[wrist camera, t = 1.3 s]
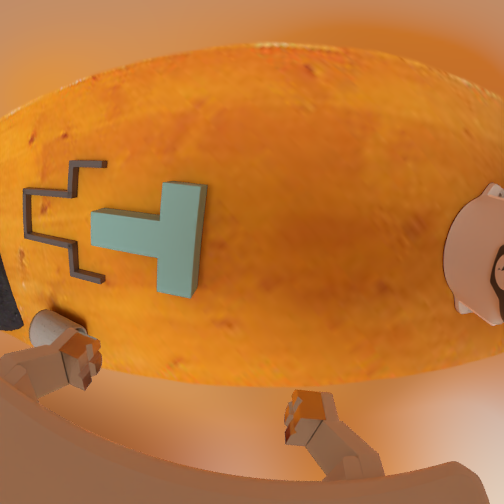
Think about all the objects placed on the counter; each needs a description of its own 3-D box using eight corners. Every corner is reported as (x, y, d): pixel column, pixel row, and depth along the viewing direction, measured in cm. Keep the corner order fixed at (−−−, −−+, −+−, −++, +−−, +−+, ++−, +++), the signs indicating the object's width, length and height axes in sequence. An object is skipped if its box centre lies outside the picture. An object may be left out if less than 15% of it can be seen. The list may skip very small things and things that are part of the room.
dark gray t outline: (107, 160, 29) (101, 161, 28) (105, 280, 33) (100, 284, 32) (29, 161, 29) (24, 161, 28) (31, 260, 34) (26, 262, 33)
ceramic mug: (49, 299, 36) (20, 321, 28) (86, 316, 36) (58, 344, 28) (57, 347, 39) (34, 371, 32) (92, 365, 39) (70, 393, 32)
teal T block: (207, 184, 29) (200, 186, 26) (197, 287, 33) (190, 298, 30) (106, 175, 29) (92, 176, 27) (104, 268, 33) (92, 276, 30)
